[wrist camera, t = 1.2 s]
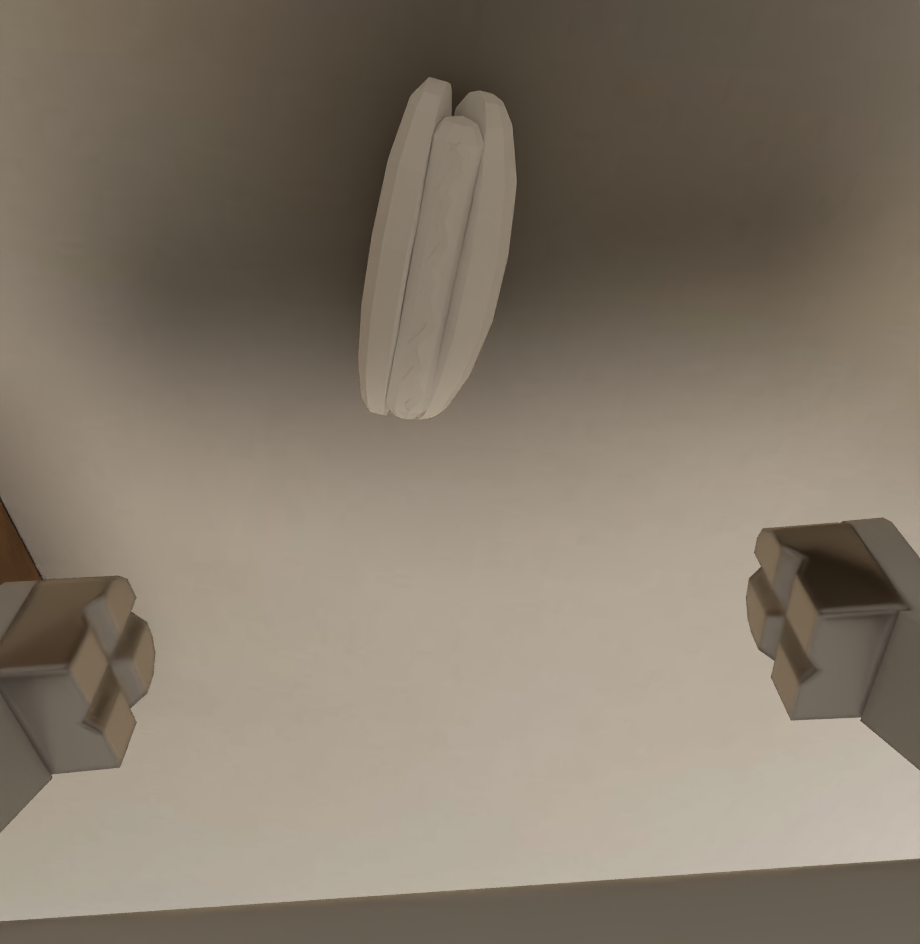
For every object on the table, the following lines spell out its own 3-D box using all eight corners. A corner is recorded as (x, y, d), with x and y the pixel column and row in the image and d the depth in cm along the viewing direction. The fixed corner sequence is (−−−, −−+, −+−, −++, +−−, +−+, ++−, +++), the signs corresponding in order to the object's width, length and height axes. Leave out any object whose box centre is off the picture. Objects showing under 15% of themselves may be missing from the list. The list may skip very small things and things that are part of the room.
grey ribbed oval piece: (350, 380, 21) (341, 437, 19) (397, 58, 17) (393, 83, 15) (462, 399, 22) (466, 456, 20) (537, 90, 17) (554, 119, 15)
